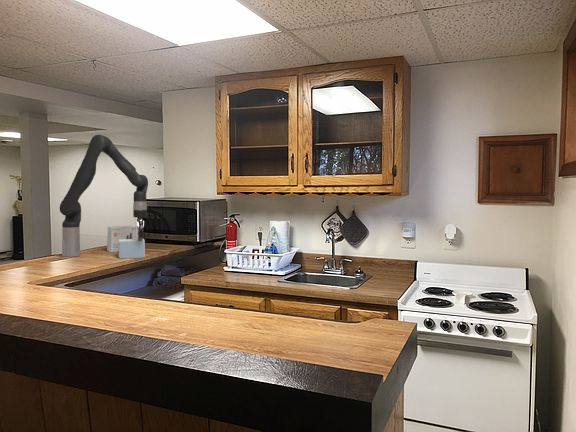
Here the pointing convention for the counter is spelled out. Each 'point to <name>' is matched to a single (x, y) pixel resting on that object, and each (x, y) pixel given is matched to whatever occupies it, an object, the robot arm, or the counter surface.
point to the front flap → (132, 248)
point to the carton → (130, 240)
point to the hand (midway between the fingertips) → (140, 236)
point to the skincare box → (120, 236)
